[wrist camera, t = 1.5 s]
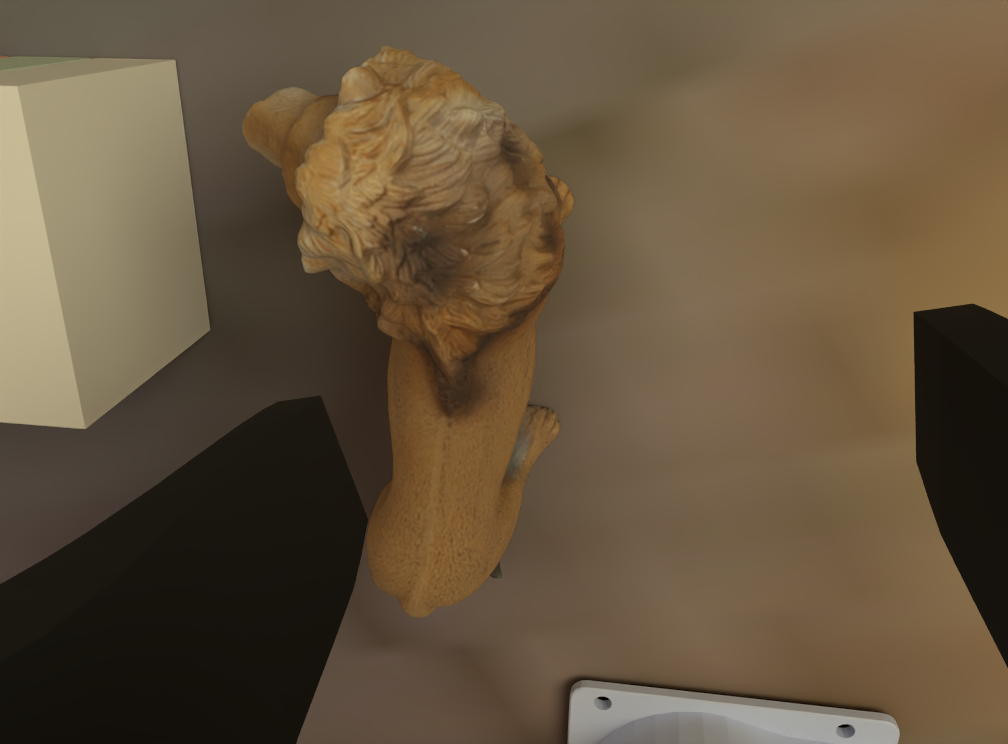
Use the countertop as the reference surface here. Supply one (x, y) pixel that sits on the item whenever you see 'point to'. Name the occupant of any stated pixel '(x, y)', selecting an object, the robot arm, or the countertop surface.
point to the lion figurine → (432, 297)
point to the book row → (92, 235)
